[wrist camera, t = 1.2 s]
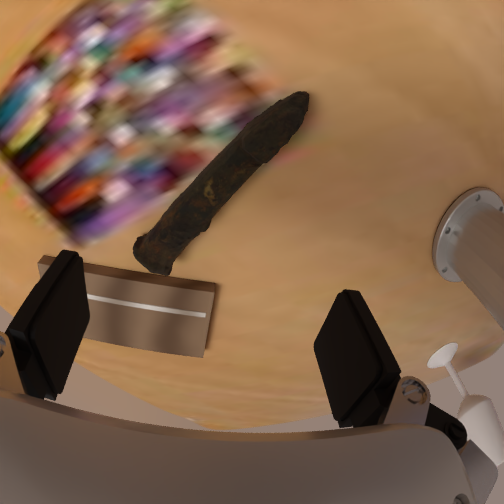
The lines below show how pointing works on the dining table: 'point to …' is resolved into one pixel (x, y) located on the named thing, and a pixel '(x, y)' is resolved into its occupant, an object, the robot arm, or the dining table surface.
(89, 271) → the board
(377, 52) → the dining table surface
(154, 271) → the hand tool
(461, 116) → the dining table surface
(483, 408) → the champagne flute
